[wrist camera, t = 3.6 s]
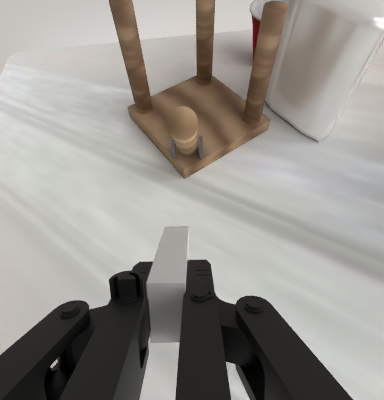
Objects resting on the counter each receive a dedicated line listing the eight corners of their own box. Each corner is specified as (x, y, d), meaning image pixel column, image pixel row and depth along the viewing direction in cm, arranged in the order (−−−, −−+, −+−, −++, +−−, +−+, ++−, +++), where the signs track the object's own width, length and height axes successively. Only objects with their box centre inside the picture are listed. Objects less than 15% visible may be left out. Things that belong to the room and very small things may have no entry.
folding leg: (197, 154, 43) (198, 137, 27) (177, 155, 43) (167, 137, 27) (196, 135, 42) (197, 105, 26) (177, 136, 42) (166, 106, 26)
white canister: (260, 102, 55) (292, -29, 36) (307, 79, 59) (357, -51, 40) (314, 145, 48) (387, 10, 29) (363, 115, 52) (455, -20, 33)
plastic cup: (233, 62, 63) (239, 5, 53) (260, 45, 67) (271, -11, 57) (268, 80, 59) (282, 22, 49) (295, 61, 63) (314, 3, 52)
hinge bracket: (202, 158, 44) (203, 146, 41) (172, 159, 44) (171, 147, 41) (202, 148, 45) (202, 135, 43) (173, 149, 45) (171, 136, 43)
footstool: (185, 178, 45) (175, 62, 27) (130, 117, 54) (96, -2, 36) (267, 129, 51) (303, 7, 33) (206, 81, 59) (208, -36, 42)
